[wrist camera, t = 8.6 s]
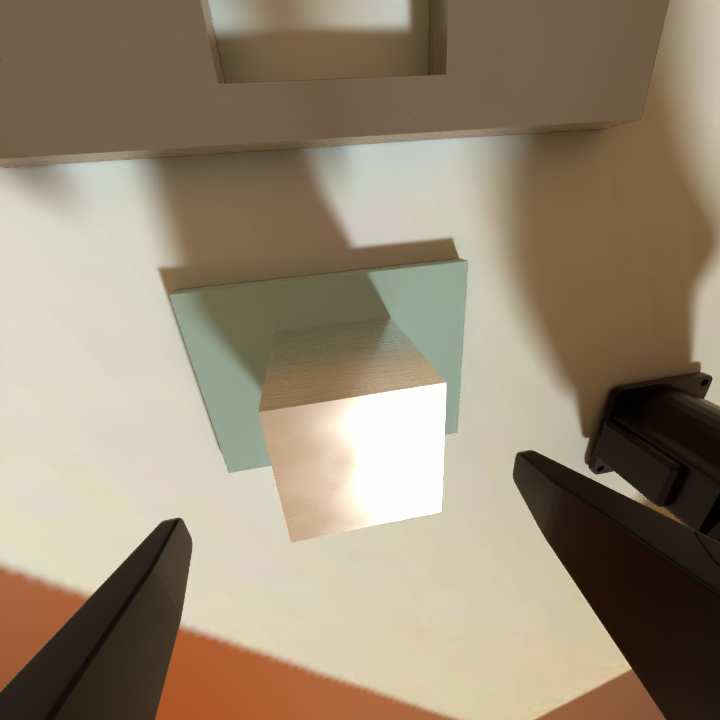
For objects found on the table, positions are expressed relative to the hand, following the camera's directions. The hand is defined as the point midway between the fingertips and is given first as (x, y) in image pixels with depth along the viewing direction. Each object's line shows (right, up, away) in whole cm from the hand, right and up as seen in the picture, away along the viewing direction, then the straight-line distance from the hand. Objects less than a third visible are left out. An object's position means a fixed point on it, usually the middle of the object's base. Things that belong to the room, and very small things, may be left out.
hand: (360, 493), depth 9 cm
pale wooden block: (-1, +3, +6) cm, 7 cm away
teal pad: (-1, +3, +7) cm, 8 cm away
